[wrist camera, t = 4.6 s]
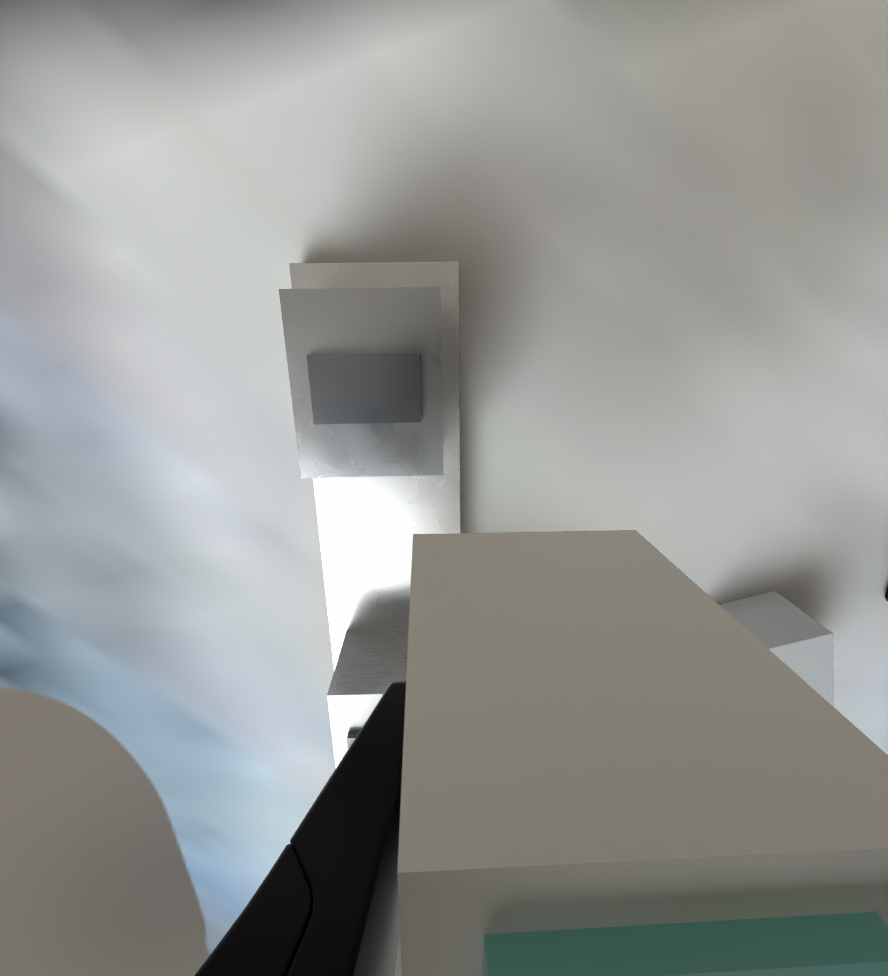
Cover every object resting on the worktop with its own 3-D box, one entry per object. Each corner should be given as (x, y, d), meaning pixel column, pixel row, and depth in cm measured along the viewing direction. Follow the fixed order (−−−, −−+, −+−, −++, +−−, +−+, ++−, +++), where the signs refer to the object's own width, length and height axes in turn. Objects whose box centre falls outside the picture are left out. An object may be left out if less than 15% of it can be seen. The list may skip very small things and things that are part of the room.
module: (635, 529, 9) (1037, 888, 3) (604, 740, 11) (828, 1230, 5) (412, 534, 9) (395, 922, 3) (417, 747, 11) (412, 1266, 5)
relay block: (772, 589, 22) (833, 633, 19) (776, 654, 23) (834, 706, 20) (691, 609, 22) (736, 656, 19) (699, 673, 24) (743, 727, 20)
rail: (457, 266, 17) (468, 234, 12) (459, 722, 24) (467, 828, 19) (298, 268, 17) (240, 236, 12) (346, 726, 24) (322, 833, 19)
